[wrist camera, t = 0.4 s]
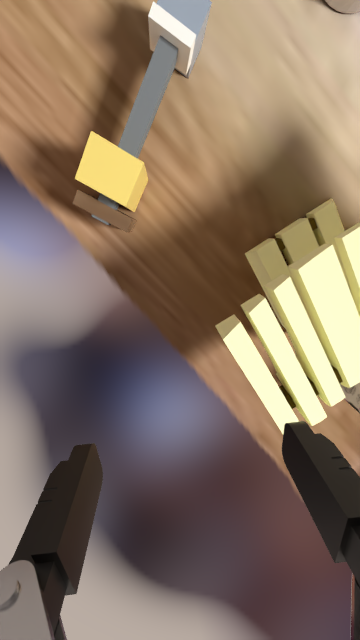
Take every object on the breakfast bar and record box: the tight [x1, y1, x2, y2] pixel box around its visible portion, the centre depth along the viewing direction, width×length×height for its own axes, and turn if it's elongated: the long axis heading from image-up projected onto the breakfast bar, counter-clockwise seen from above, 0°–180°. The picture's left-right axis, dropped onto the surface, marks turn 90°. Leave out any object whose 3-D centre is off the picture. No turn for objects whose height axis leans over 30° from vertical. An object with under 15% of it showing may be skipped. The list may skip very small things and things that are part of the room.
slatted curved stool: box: [215, 198, 360, 434], centre depth 28 cm, size 30×16×18 cm, turn 122°
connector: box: [157, 0, 212, 78], centre depth 23 cm, size 3×4×6 cm
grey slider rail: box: [92, 35, 178, 225], centre depth 24 cm, size 20×2×2 cm, turn 152°
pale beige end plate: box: [148, 1, 196, 75], centre depth 22 cm, size 1×4×4 cm, turn 62°
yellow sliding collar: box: [75, 131, 148, 212], centre depth 26 cm, size 4×5×8 cm
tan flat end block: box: [73, 189, 137, 232], centre depth 28 cm, size 2×6×6 cm, turn 62°
